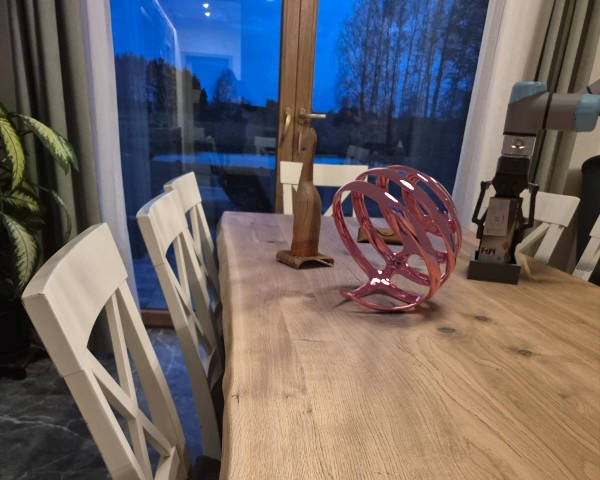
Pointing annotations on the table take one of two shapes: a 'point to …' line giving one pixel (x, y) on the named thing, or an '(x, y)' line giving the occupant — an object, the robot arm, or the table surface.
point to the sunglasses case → (384, 233)
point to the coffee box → (499, 229)
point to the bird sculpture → (306, 213)
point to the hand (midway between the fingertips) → (495, 254)
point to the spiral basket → (400, 234)
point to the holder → (494, 269)
